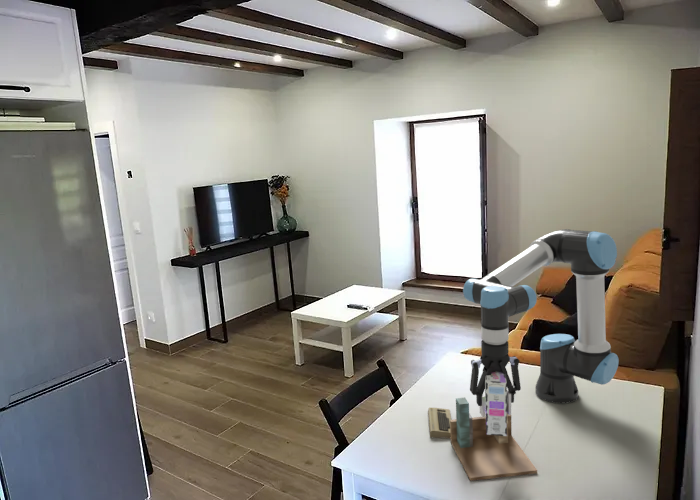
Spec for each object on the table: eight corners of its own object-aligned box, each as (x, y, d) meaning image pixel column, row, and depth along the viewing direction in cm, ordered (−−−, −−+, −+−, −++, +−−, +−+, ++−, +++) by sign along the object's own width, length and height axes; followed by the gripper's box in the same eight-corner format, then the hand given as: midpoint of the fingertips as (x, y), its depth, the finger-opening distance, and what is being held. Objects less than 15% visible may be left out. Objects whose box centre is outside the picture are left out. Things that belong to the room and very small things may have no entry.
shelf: (510, 436, 165) (509, 391, 162) (537, 473, 146) (537, 422, 143) (450, 442, 164) (449, 397, 161) (470, 480, 144) (469, 430, 142)
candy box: (507, 437, 141) (507, 382, 138) (485, 435, 143) (485, 381, 140) (504, 413, 154) (504, 362, 151) (485, 411, 156) (484, 361, 153)
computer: (454, 439, 167) (454, 429, 166) (429, 438, 168) (429, 429, 167) (450, 414, 182) (450, 406, 181) (428, 415, 183) (427, 406, 182)
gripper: (523, 332, 148) (522, 404, 152) (456, 338, 147) (458, 410, 151) (534, 341, 141) (533, 416, 145) (464, 348, 139) (466, 423, 143)
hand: (495, 413), depth 148 cm, fingers closed on candy box, 7 cm apart
